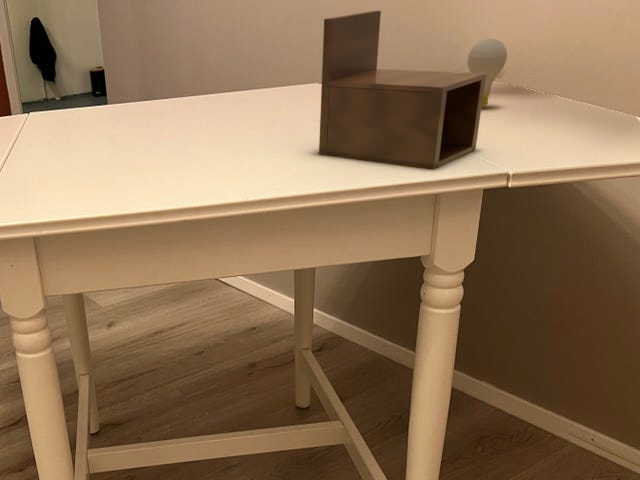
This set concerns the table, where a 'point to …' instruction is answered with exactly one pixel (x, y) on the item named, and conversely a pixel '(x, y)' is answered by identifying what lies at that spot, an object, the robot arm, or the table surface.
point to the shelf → (391, 102)
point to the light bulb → (487, 62)
